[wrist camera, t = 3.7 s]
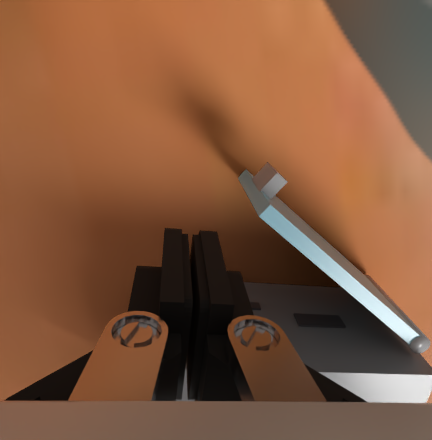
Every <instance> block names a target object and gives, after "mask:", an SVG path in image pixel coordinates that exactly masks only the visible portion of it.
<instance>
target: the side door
mask: <svg viewBox="0 0 432 440" xmlns="http://www.w3.org/2000/svg"><path fill="white" fill-rule="evenodd" d="M238 179H239V181H240V183H241V185H242V187H243V188H244V190H245V192H246V194H247V196H248V198H249V199H250V201H251V203H252V205H253V207H254V209H255V210H256V212H257V214H258V216H259V217H260V218H261V219H262V220H264V221H265V222H266V223H267V224H268V225H269V226H271V227H272V228H273V229H274V230H275V231H277V232H278V233H279V234H280V235H281V236H282V237H284V238H285V239H286V240H287V241H288V242H289V243H291V244H292V245H293V246H294V247H295V248H297V249H298V250H299V251H300V252H301V253H302V254H304V255H305V256H306V257H307V258H308V259H309V260H311V261H312V262H313V263H314V264H315V265H317V266H318V267H319V268H320V269H321V270H322V271H324V272H325V273H326V274H327V275H328V276H329V277H331V278H332V279H333V280H334V281H335V282H337V283H338V284H339V285H340V286H341V287H342V288H344V289H345V290H346V291H347V292H348V293H349V294H351V295H352V296H353V297H354V298H355V299H357V300H358V301H359V302H360V303H361V304H362V305H364V306H365V307H366V308H367V309H368V310H369V311H371V312H372V313H373V314H374V315H375V316H376V317H378V318H379V319H380V320H381V321H382V322H384V323H385V324H386V325H387V326H388V327H389V328H391V329H392V330H393V331H394V332H395V333H396V334H398V335H399V336H400V337H401V339H402V340H403V341H404V342H405V343H406V345H407V346H408V347H409V348H410V349H411V351H412V352H414V353H423V352H425V351H426V350H427V349H428V348H429V346H430V340H429V339H428V338H427V337H426V336H425V335H424V334H423V333H422V332H421V330H420V329H419V328H418V327H417V326H416V325H415V324H414V323H413V322H412V321H411V320H410V319H409V318H408V317H407V315H406V314H405V313H404V312H403V311H402V310H401V309H400V308H399V307H398V306H397V305H396V304H395V303H394V301H393V300H392V299H391V298H390V297H389V296H388V295H387V294H386V293H385V292H384V291H383V290H382V289H381V288H380V286H379V285H378V284H377V283H376V282H375V281H374V280H373V279H372V278H371V277H370V276H369V275H364V274H363V273H362V272H361V271H359V270H358V269H357V268H356V267H355V266H354V265H353V264H352V263H351V262H349V261H348V260H347V259H346V258H345V257H344V256H343V255H342V254H340V253H339V252H338V251H337V250H336V249H335V248H334V247H333V246H332V245H330V244H329V243H328V242H327V241H326V240H325V239H324V238H323V237H321V236H320V235H319V234H318V233H317V232H316V231H315V230H314V229H313V228H311V227H310V226H309V225H308V224H307V223H306V222H305V221H304V220H302V219H301V218H300V217H299V216H298V215H297V214H296V213H295V212H294V211H292V210H291V209H290V208H289V207H288V206H287V205H286V204H285V203H283V202H282V201H281V200H280V199H279V198H278V197H277V196H276V194H277V193H278V191H279V190H280V189H281V188H282V187H283V186H284V185H285V184H286V183H287V181H286V180H285V179H284V178H283V177H282V176H281V175H280V174H279V173H278V172H277V171H276V170H275V169H274V168H273V167H272V166H271V165H270V164H269V163H268V162H267V163H266V164H265V165H264V167H263V168H262V169H261V170H260V171H259V172H258V173H257V174H256V175H255V176H253V175H252V174H251V173H250V172H249V171H248V170H247V169H246V170H245V171H244V172H243V173H242V174H241V175H240V176H239V177H238Z"/></svg>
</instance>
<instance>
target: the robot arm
mask: <svg viewBox="0 0 432 440" xmlns="http://www.w3.org/2000/svg"><path fill="white" fill-rule="evenodd" d="M185 368H186V370H187V397H188V400H195V401H176V400H181V399H182V393H183V385H184V376H185ZM0 440H432V403H394V402H367V401H365V400H364V399H362V398H360V397H359V396H357V395H355V394H354V393H352V392H350V391H349V390H347V389H346V388H344V387H342V386H341V385H339V384H337V383H336V382H334V381H332V380H331V379H329V378H327V377H326V376H324V375H322V374H321V373H319V372H317V371H316V370H314V369H312V368H311V367H309V366H307V365H306V364H304V363H303V362H302V360H301V358H300V357H299V355H298V353H297V352H296V350H295V349H294V347H293V345H292V344H291V342H290V340H289V339H288V337H287V336H286V334H285V332H284V331H283V330H282V329H281V328H280V326H278V325H277V324H276V323H274V322H273V321H271V320H269V319H266V318H264V317H260V316H254V314H253V310H252V307H251V304H250V301H249V298H248V294H247V291H246V288H245V285H244V282H243V278H242V275H241V273H240V272H238V271H226V267H225V263H224V259H223V255H222V251H221V247H220V243H219V239H218V235H217V232H213V231H200V232H199V235H194V234H193V237H192V246H191V255H189V241H188V234H182V229H171V228H165V232H164V245H163V258H162V267H149V266H137V267H136V272H135V278H134V283H133V288H132V293H131V298H130V303H129V309H128V312H125V313H122V314H120V315H117V316H116V317H114V318H113V319H111V320H110V321H109V322H108V324H107V325H106V326H105V328H104V330H103V332H102V334H101V336H100V338H99V340H98V342H97V344H96V346H95V348H94V350H93V351H91V352H89V353H88V354H86V355H84V356H82V357H80V358H79V359H77V360H75V361H73V362H72V363H70V364H68V365H66V366H64V367H63V368H61V369H59V370H57V371H55V372H54V373H52V374H50V375H48V376H46V377H45V378H43V379H41V380H39V381H37V382H36V383H34V384H32V385H30V386H28V387H27V388H25V389H23V390H21V391H19V392H18V393H16V394H14V395H12V396H11V397H9V398H7V399H6V400H4V401H0Z"/></svg>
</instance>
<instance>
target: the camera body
mask: <svg viewBox="0 0 432 440" xmlns="http://www.w3.org/2000/svg"><path fill="white" fill-rule="evenodd" d="M244 285H245V288H246V291H247V294H248V298H249V301H250V304H251V307H252V310H253V314H254V316H260V317H264V318H266V319H269V320H271V321H273V322H274V323H276V324H277V325H278V326H280V328H281V329H282V330H283V331H284V332H285V334H286V336H287V337H288V339H289V340H290V342H291V344H292V345H293V347H294V349H295V350H296V352H297V353H298V355H299V357H300V358H301V360H302V362H303V363H304V364H306V365H307V366H309V367H311V368H312V369H314V370H316V371H317V372H319V373H321V374H322V375H324V376H326V377H327V378H329V379H331V380H332V381H334V382H336V383H337V384H339V385H341V386H342V387H344V388H346V389H347V390H349V391H350V392H352V393H354V394H355V395H357V396H359V397H360V398H362V399H364V400H365V401H367V402H394V403H426V402H427V400H428V397H429V395H430V393H431V391H432V367H431V366H430V365H429V364H428V363H427V361H426V360H425V359H424V358H423V357H422V356H421V354H420V353H414V352H412V351H411V349H410V348H409V347H408V346H407V345H406V343H405V342H404V341H403V340H402V339H401V337H400V336H399V335H398V334H396V333H395V332H394V331H393V330H392V329H391V328H389V327H388V326H387V325H386V324H385V323H384V322H382V321H381V320H380V319H379V318H378V317H376V316H375V315H374V314H373V313H372V312H371V311H369V310H368V309H367V308H366V307H365V306H364V305H362V304H361V303H360V302H359V301H358V300H357V299H355V298H354V297H353V296H352V295H351V294H349V293H348V292H347V291H346V290H345V289H344V288H338V287H320V286H303V285H286V284H269V283H252V282H244ZM176 401H195V400H188V397H187V370H186V368H185V376H184V385H183V393H182V399H181V400H176Z"/></svg>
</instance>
